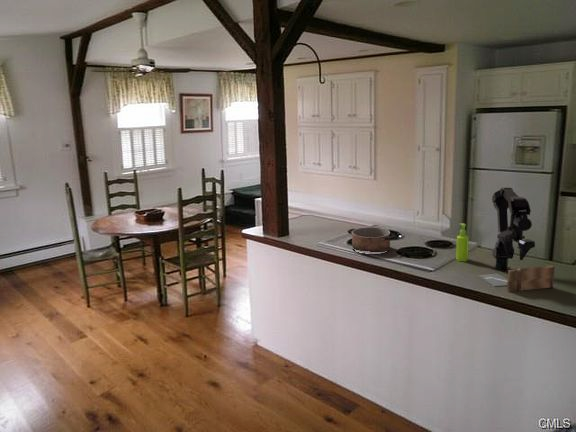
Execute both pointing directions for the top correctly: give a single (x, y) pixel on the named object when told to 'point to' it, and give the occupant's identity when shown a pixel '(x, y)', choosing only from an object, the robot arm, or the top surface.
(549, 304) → the top surface
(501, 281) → the card
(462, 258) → the soap dispenser
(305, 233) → the top surface
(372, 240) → the cooking pot
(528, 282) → the fence gate
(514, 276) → the fence post
